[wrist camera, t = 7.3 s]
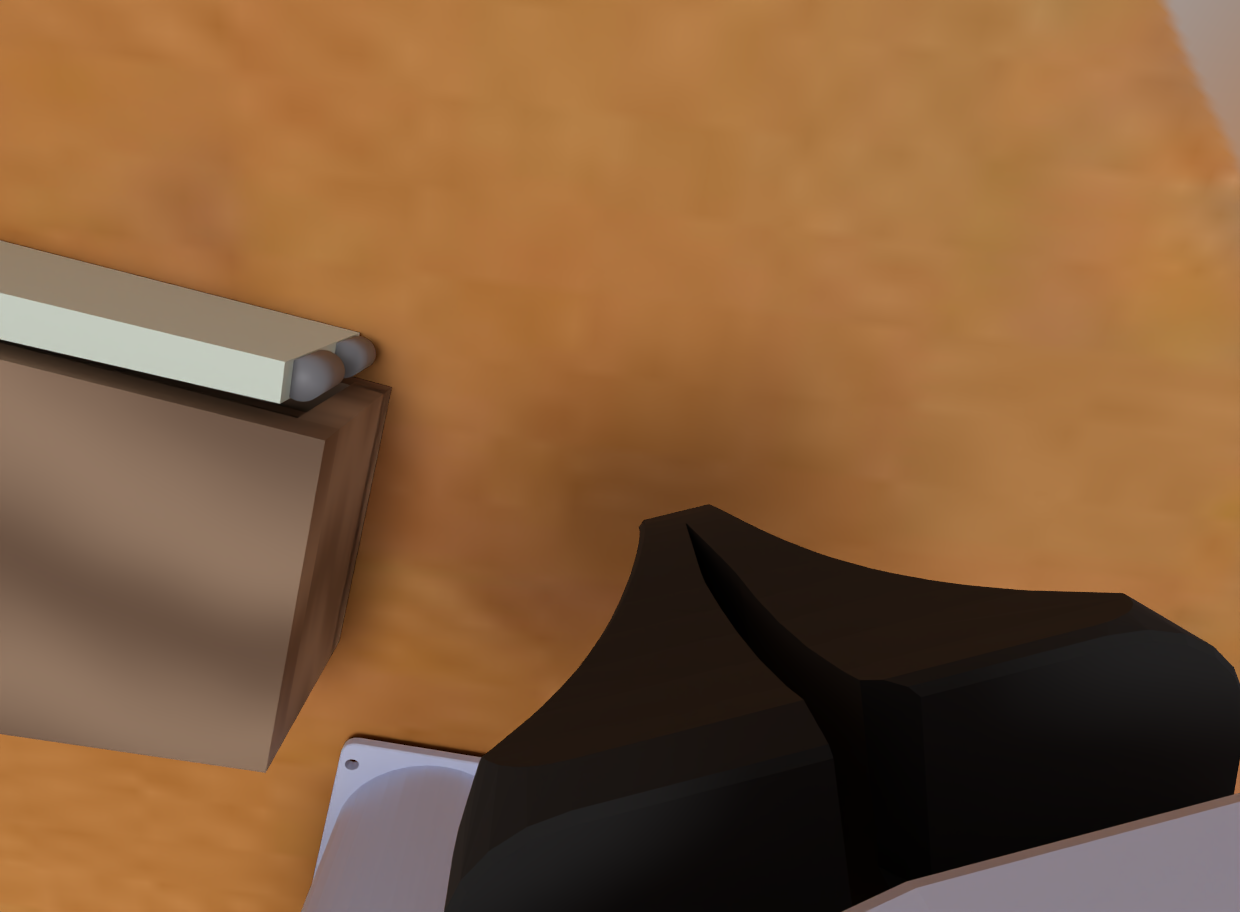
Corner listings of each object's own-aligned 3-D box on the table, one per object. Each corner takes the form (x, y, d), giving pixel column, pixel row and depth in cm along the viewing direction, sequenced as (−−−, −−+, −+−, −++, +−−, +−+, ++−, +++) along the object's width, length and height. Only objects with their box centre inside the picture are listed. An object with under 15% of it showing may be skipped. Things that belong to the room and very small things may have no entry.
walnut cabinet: (339, 641, 22) (265, 772, 17) (-177, 543, 19) (-481, 663, 14) (391, 387, 20) (325, 440, 14) (-199, 227, 17) (-593, 212, 11)
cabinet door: (377, 369, 19) (311, 411, 14) (-172, 233, 16) (-508, 222, 11) (387, 313, 19) (322, 335, 13) (-179, 164, 16) (-532, 119, 11)
